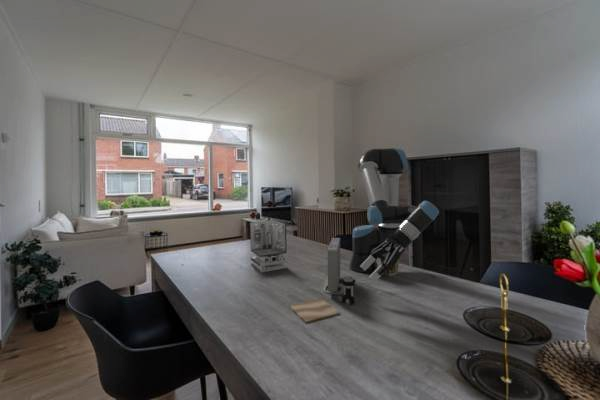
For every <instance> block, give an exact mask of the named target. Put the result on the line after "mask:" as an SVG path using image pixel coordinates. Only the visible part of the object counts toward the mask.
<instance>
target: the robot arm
mask: <svg viewBox="0 0 600 400" xmlns="http://www.w3.org/2000/svg"><path fill="white" fill-rule="evenodd" d="M358 161H359V162H358V165H357V168H358V173H359V174H360V176H361V177H362V179H363V183H364V187H365V190H366V191H365V192H366V195H367V198H368V202H369V205H370V206H368V208H367V211H366V216H367V221H368V223H370V224H369V225H368V224H367V225H366V224H365V225H359V226H356V227H354V228H353V229H352V255H351V259H350V262H349V269H350V270H352V271H353V272H357V273H371V274H370V275H369V277H368V279H370V280H371V281H372V282H373V283H376V282H377V281H378V280H379V279H380V278H381V277H382V276H383V275H385V274H384V272H385V271H386V270H389V269H390V270H392V269H393V267H394V266H395V264H396V262H397V261H398V259H399V257H400V258H401V256H402V254H403V253H404V252H405V251H406V249H407V248H408V247H409V246H410V245H411V243H413V242H412V241H414V240H416V239H417V238H419V235H420V234H422V233H423V231H424V230H425V229H426V228H427V227H428V226H429V225H430V224H431V223H432V222H433V221H435V219H436V218H437V216H439V214H440V211H439V208H437V206H436V205H434V204H433V203H432V202H431V201H428V200H423V201H421V203H419V204H418V205H416V206H415V205H412V204H409V205H406V204H405V205H399V191H400V189H399V188H400V187H399V186H400V185H399V184H400V177H401V176H402V175H403V172H404V171H406V170H407V166H408V159H407V155H406V152H405V150H403V149H401V148H372V149H369V150H367V151H365V152H364V153H363V154H362V155H361V156H360V158H359V160H358ZM380 177H381V178H380ZM372 224H373V225H372ZM375 225H377V227H375ZM385 253H388V254H387V256H386V258H385V261H384V263H381V262H380V263H381V264H380V265H378V262H377V260H378V258H380V256H381V255H383V254H385ZM382 265H383V266H382Z"/></svg>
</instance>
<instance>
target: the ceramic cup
mask: <svg viewBox="0 0 600 400" xmlns="http://www.w3.org/2000/svg"><path fill="white" fill-rule="evenodd" d="M387 254H388V253H385V254H383V255H381V256H379V258H380V263H384V261H385V258H386V256H387ZM400 260H401V256H400V257H399V259H398V261H397V262H396V264H395V266H394V267H393V269H392V270H390V269H389V270H386V271H385V272H384V274H383V275H385V276H389V277H390V276H392V277H393V276H397V274H398V270H399V266H400ZM381 265H382V264H381ZM382 266H383V265H382Z"/></svg>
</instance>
